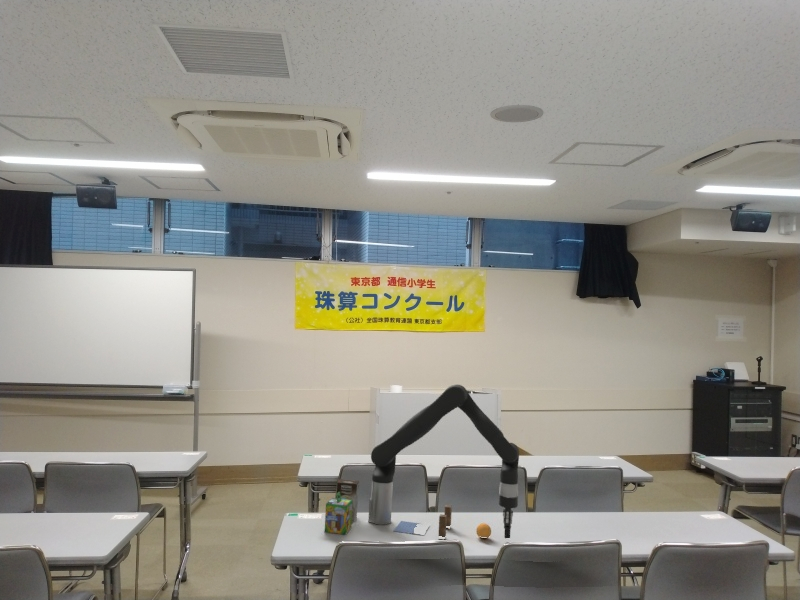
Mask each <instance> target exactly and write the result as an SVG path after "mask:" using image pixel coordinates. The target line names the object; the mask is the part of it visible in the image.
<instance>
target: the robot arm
mask: <svg viewBox="0 0 800 600" xmlns="http://www.w3.org/2000/svg"><path fill="white" fill-rule="evenodd" d="M455 409H460V410H461V411H462V412H463V413H464V414H465V415H466V416H467V417H468V418H469V419H470V421H471V422H472V424H473V426H474V427H475V429H476V430H477V431H478V433H480V435H481V436H482V437H483V438H484V439H485V440H486V441H487V442H488V443H489V444H490V445H491V447H492V448H493V450H494V451H495V452H496V454H497V456H499V457H500V459H501V468H500V473H499V474H500V477H499V479H500V480H499V486H498V487H499V488H498V491H499V492H498V505H499V506H500V507H502V508H503V509H502V517H503V520H502V521H503V529H504V535H503V536H504V538H505V539H506V538H510V539H511V529H512V524H513V517H514V510H513V509H516V508H518V505H519V504H518V503H519V483H518V481H519V472H518V471H519V470H518V467H519V459H520V450H519V447H518V446H517V444H516V443H513V442H510V441H509V440H508V439H507V438H506V437H505V435H504V433H503V432H502V430H501V429H500V428H499V427H498V426H497V425H496V424H495V422H494V421H493V420H491V419H490V418H489V416H487V414H485V412H484V411H483V410H482V409H481V408H480V407H479V406H478V405H477V403H476V402H475V401H474V399H473V398H472V396H471V394H470V393H469V392H468V390H467V389H466V387H464V386H463V385H462V384H452V385H450V386H448V387H447V388H446V389H445V390H444V391H443V393H442V392H441V394H440V395H439V396H438V397H437V398H436V399H435V400H434V401H433V402H431V403H430V404H429V405H428V406H426V407H424V408H423V409H421V410H420V411H418V412H417V413H415V415H413V416H411V418H409V419H408V420H407V421H406V422H405V423H404V424H403V425H402V426H401V427H400V428H399V429H397V430H396V431H395V432H394V433H393V434H392V435H391V436H390V437H388V438H387V439H386V440H384V441H383V442H381V443H380V444H378V445H376V446H374V448H373V449H372V451H371V453H370V459H371V460H370V461H371V462H372V464H373V465H375V466H374V471H373V473H372V475H371V492H370V493H371V495H370V496H371V497H370V498H369V502H368V503H369V505H368V522H370V523H372V524H376V525H389V524H390V523H392V508H393V487H394V485H393V484H394V477H395V471H396V461H397V460H396V459H397V455H398V454H399V453H400V452H401V451H403V450H404V449H406V448H408V447H409V446H411V445H413V444H414V443H416V442H417V441H419V440H420V439H421V438H423V437H424V436H425V435H426V434H428V433H429V432H430V431H431V430H432V429H433V428H434V427H435V426H436V425H437V424H438V423H439V422H440V421H441V419H443V417H445V416H446V415H448V414H449V413H451V412H452V411H454V410H455Z"/></svg>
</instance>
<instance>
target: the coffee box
mask: <svg viewBox="0 0 800 600" xmlns="http://www.w3.org/2000/svg"><path fill="white" fill-rule="evenodd" d="M359 487H360V480H355V479H346V478H345V479H344V478H339V479H338V481H337V482H336V494H337V493H338V492H340V495H341V499H348V500H353V504H352V523H354V522H356V520H357V516H358V502H359V489H360V488H359ZM336 494H335V495H336ZM335 498H337V497H335ZM338 498H339V495H338Z"/></svg>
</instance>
